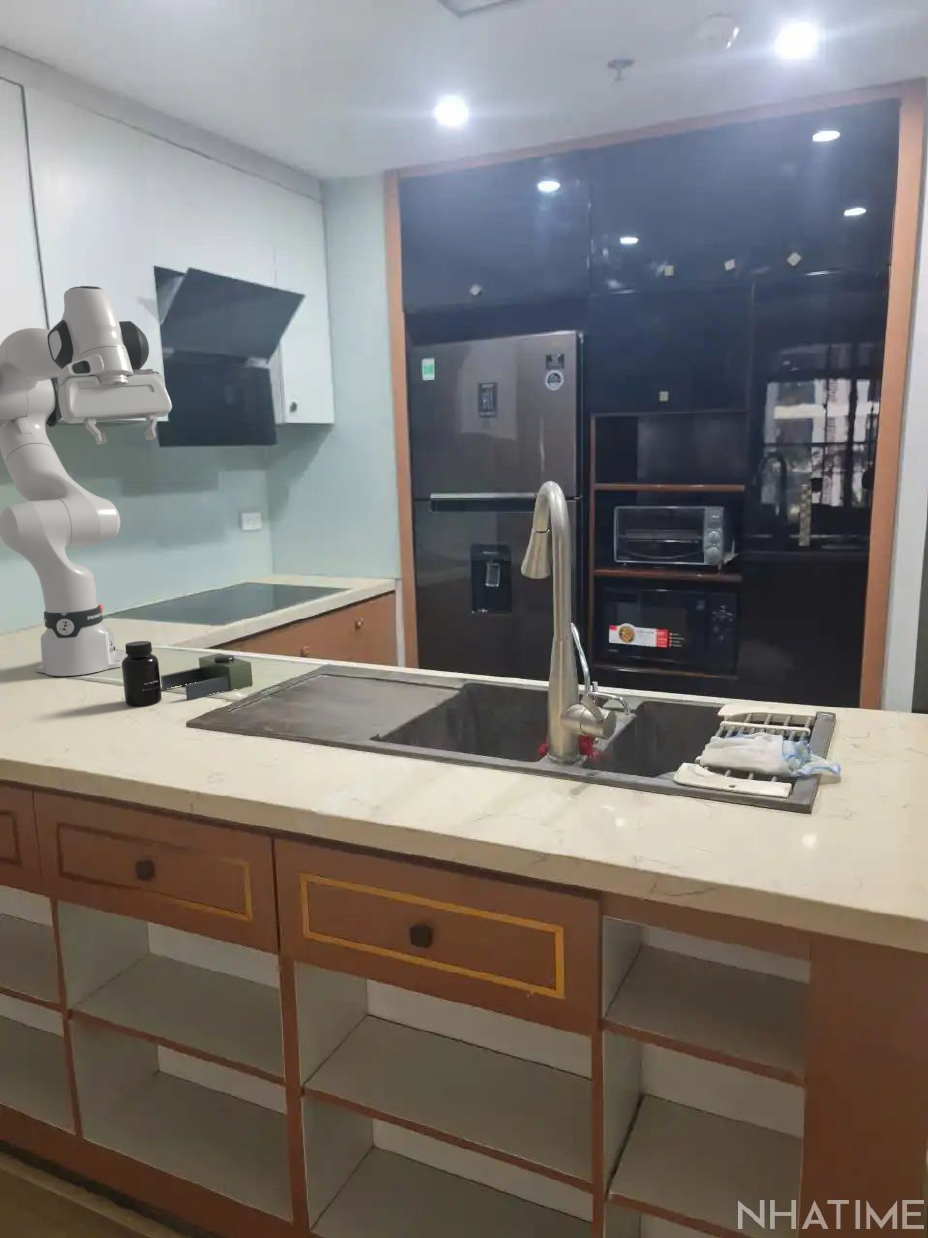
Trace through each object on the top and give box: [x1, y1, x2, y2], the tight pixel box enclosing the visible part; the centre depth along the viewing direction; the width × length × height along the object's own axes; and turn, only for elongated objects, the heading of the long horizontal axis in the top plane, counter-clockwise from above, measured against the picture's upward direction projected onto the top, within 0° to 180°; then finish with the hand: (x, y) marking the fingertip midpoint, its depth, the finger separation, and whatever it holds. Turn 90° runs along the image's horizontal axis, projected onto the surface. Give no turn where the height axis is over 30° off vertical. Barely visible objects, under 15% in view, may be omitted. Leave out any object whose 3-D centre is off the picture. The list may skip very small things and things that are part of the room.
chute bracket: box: [160, 653, 254, 701], centre depth 183 cm, size 14×13×6 cm
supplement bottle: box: [121, 640, 163, 707], centre depth 173 cm, size 7×7×12 cm
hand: (127, 441), depth 167 cm, fingers open, 8 cm apart
